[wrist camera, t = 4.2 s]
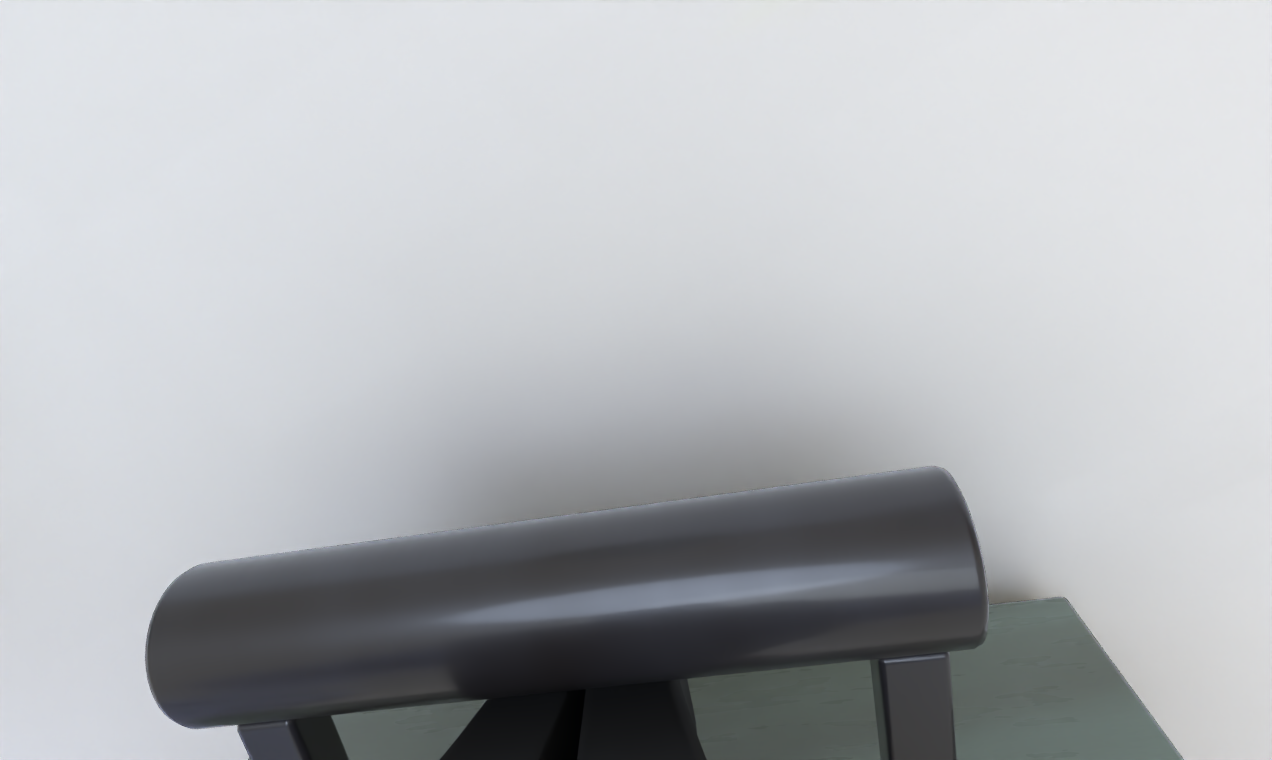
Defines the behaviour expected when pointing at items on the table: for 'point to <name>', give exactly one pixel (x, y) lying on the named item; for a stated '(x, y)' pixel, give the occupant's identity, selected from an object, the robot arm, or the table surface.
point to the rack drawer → (655, 633)
